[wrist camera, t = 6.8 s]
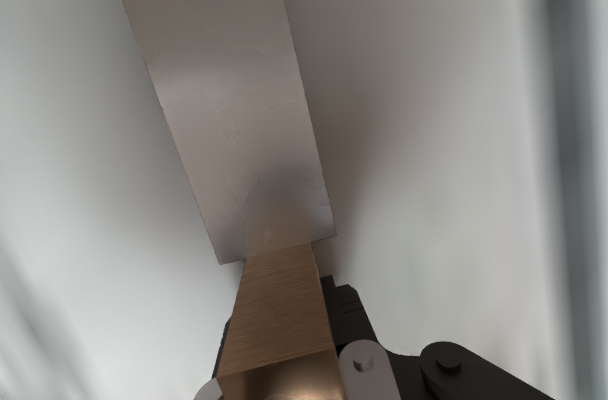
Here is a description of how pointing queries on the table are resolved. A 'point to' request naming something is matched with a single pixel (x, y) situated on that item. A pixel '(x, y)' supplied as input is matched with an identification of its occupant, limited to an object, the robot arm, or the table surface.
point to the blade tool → (250, 182)
